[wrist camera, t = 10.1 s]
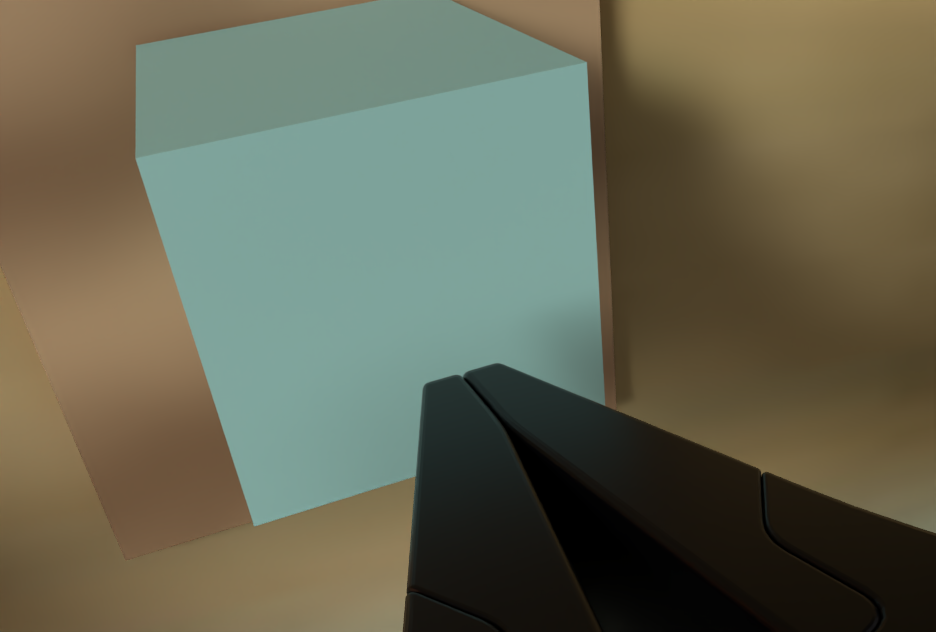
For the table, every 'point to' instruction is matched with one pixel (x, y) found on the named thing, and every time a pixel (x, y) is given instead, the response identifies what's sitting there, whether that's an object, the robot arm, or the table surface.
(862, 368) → the table surface
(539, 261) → the pale teal block
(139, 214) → the wooden base plate
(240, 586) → the table surface
